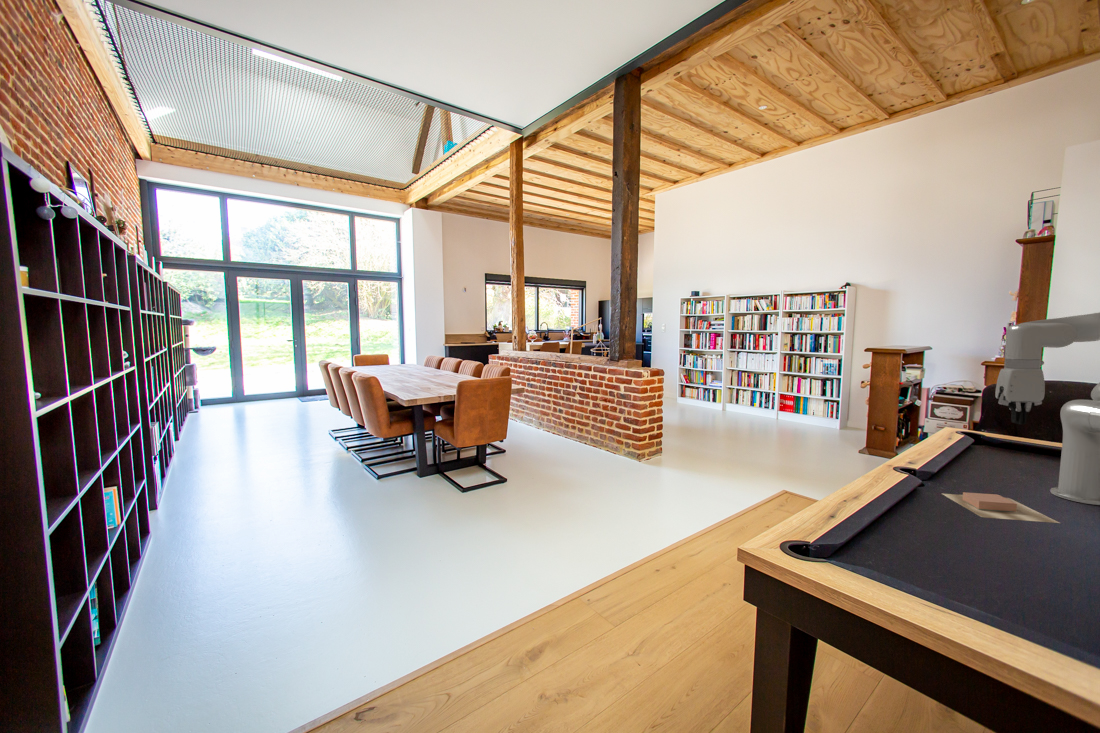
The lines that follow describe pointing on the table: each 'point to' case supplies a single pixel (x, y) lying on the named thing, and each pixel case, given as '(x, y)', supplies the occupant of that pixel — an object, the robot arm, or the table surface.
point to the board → (1020, 514)
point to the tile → (989, 502)
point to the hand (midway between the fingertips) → (1018, 423)
